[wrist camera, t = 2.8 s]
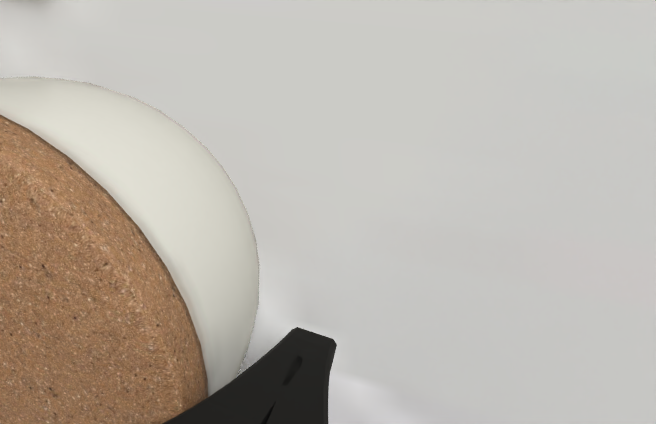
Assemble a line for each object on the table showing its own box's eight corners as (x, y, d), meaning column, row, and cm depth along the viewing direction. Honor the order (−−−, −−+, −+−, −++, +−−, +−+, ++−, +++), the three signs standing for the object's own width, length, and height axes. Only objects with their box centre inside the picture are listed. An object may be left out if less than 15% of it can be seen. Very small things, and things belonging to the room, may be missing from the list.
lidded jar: (288, 387, 19) (134, 701, 11) (28, 303, 21) (-273, 515, 13) (336, 86, 15) (132, 232, 6) (-2, 13, 16) (-504, 50, 8)
